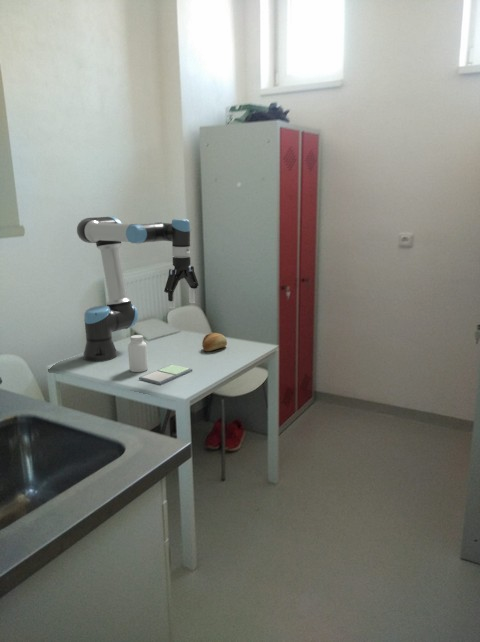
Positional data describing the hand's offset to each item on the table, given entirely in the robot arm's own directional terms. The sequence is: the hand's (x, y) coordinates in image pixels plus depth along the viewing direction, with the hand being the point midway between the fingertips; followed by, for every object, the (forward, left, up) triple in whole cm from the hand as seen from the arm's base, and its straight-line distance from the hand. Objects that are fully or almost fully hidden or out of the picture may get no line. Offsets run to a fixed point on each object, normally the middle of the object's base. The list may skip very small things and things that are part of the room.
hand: (182, 305), depth 219 cm
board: (+1, -14, -27) cm, 31 cm away
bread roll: (-4, +28, -28) cm, 40 cm away
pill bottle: (-14, -15, -28) cm, 34 cm away
